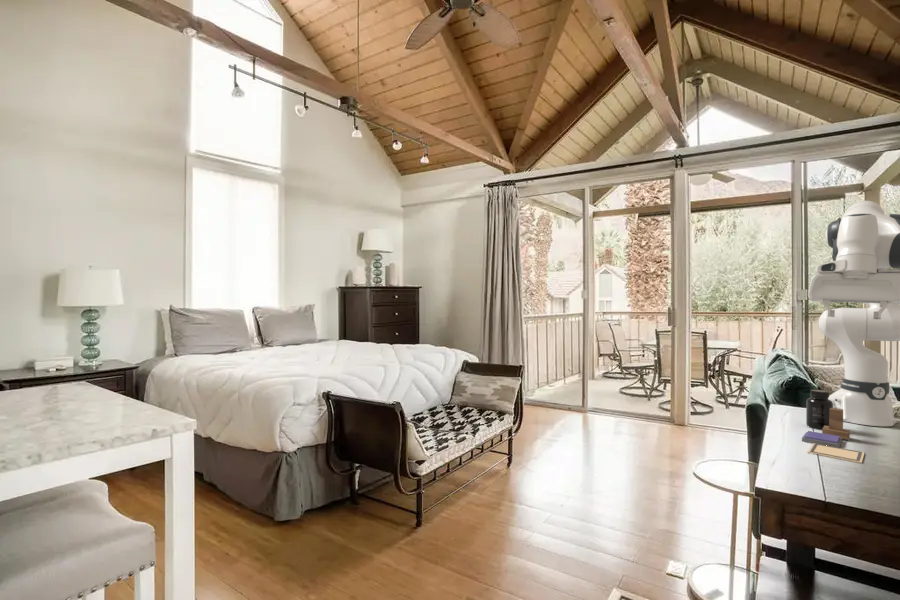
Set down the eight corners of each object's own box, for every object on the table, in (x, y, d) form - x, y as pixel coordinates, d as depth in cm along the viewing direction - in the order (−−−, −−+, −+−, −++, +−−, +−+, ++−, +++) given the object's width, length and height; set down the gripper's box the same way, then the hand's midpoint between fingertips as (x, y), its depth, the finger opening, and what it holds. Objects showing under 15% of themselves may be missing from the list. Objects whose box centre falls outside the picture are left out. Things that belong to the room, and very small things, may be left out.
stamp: (824, 433, 144) (824, 406, 144) (849, 438, 140) (850, 409, 140) (822, 437, 140) (822, 408, 140) (848, 441, 136) (848, 412, 136)
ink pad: (806, 435, 142) (806, 430, 142) (842, 441, 136) (842, 436, 136) (801, 441, 136) (801, 436, 136) (839, 448, 130) (839, 442, 130)
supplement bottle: (838, 429, 149) (839, 392, 148) (821, 431, 147) (822, 393, 147) (816, 424, 155) (817, 388, 155) (800, 425, 154) (801, 389, 154)
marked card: (813, 444, 133) (813, 442, 133) (864, 453, 125) (864, 451, 125) (807, 452, 125) (807, 451, 125) (861, 463, 118) (861, 461, 118)
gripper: (907, 272, 124) (905, 322, 122) (810, 272, 137) (807, 317, 135) (909, 265, 119) (908, 317, 117) (809, 266, 133) (806, 313, 130)
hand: (853, 317), depth 126 cm, fingers open, 8 cm apart
